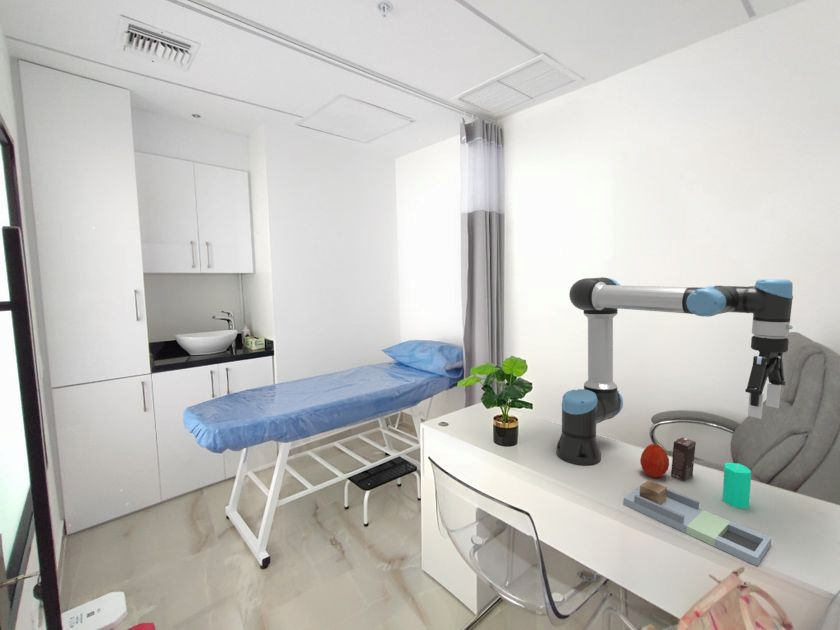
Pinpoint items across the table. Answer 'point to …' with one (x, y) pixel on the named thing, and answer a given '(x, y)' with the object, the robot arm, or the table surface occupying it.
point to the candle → (736, 485)
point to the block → (653, 492)
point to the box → (683, 459)
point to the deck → (703, 525)
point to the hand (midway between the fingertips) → (763, 411)
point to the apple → (654, 461)
